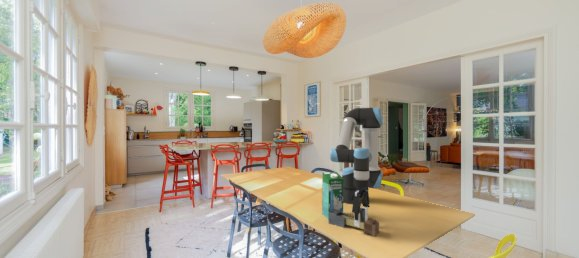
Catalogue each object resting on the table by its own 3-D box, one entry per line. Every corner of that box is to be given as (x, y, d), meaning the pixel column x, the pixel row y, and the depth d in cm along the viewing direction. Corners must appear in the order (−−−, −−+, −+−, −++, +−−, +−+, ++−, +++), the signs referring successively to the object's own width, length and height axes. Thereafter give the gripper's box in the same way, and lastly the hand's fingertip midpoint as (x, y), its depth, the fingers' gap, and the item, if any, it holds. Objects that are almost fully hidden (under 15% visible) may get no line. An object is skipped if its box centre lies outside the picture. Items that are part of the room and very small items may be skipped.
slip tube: (341, 220, 129) (341, 203, 128) (373, 229, 118) (373, 210, 118) (339, 222, 126) (339, 205, 126) (371, 231, 115) (371, 212, 115)
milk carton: (328, 220, 132) (328, 175, 132) (322, 214, 141) (322, 172, 141) (343, 218, 135) (343, 174, 134) (336, 212, 144) (336, 171, 143)
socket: (368, 229, 121) (368, 217, 121) (378, 231, 118) (378, 219, 118) (363, 233, 116) (364, 220, 116) (374, 236, 113) (374, 223, 113)
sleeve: (334, 219, 133) (334, 208, 133) (349, 223, 128) (349, 212, 128) (328, 223, 128) (328, 212, 128) (343, 227, 123) (344, 216, 123)
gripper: (362, 174, 131) (362, 214, 131) (344, 181, 113) (344, 228, 114) (376, 175, 126) (375, 217, 127) (360, 183, 109) (359, 232, 109)
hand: (361, 222), depth 120 cm, fingers open, 9 cm apart
